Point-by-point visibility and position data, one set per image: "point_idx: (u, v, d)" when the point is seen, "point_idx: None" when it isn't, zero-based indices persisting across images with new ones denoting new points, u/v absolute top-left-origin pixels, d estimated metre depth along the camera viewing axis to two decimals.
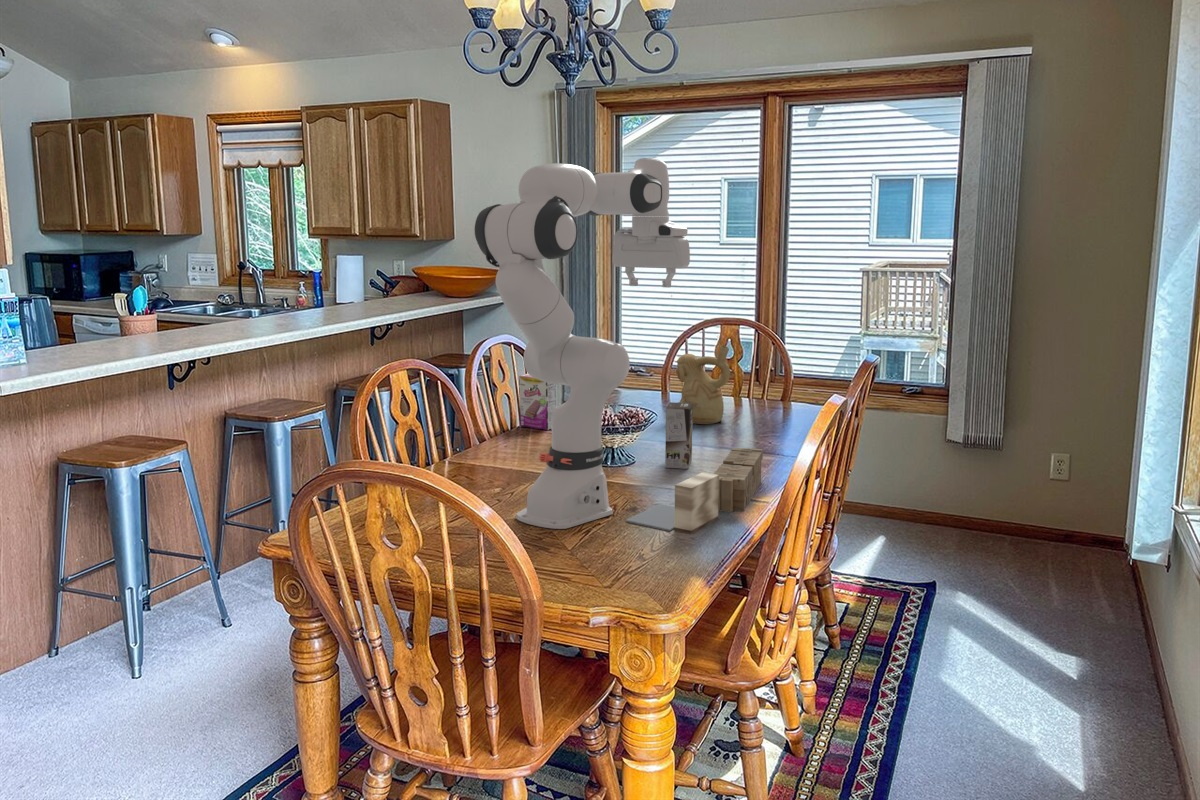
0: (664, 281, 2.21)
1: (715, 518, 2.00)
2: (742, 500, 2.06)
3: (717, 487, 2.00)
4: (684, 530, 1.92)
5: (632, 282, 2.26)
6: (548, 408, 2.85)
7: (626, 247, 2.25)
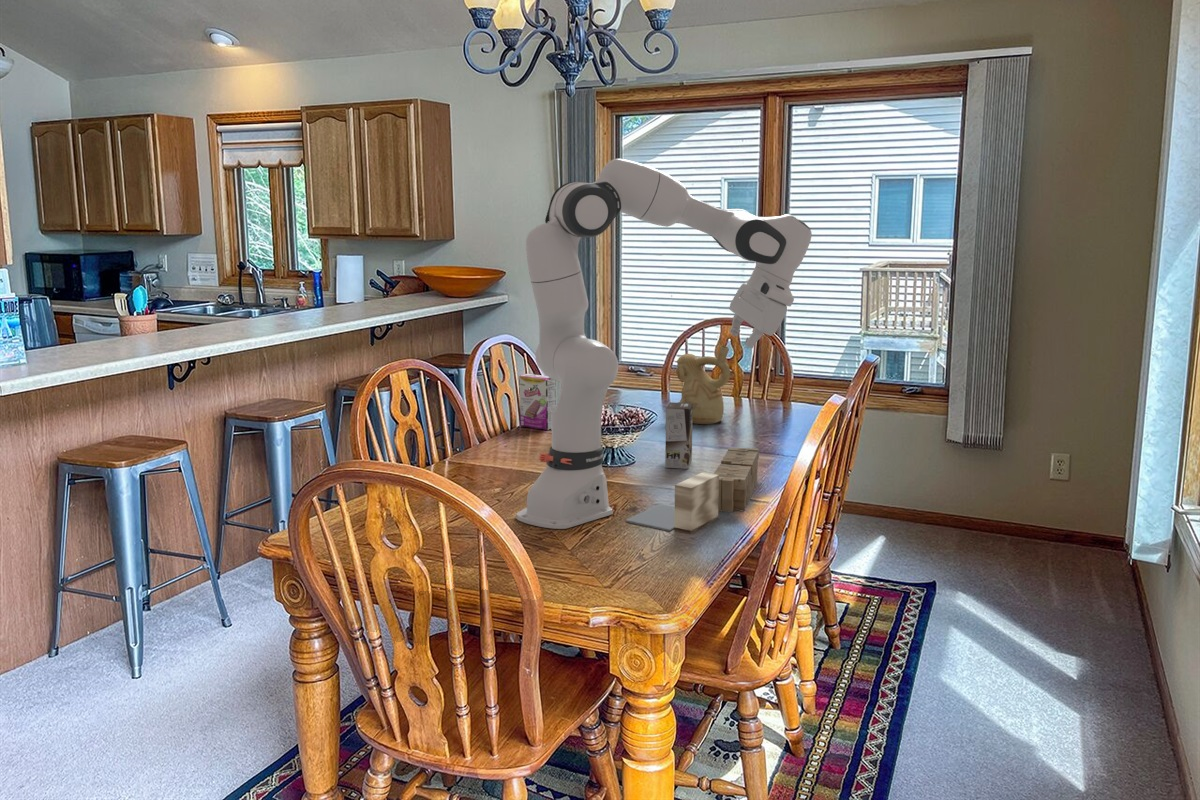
0: (747, 339, 2.08)
1: (715, 518, 2.00)
2: (743, 500, 2.06)
3: (717, 487, 2.00)
4: (684, 530, 1.92)
5: (731, 330, 2.17)
6: (548, 408, 2.85)
7: (743, 295, 2.16)
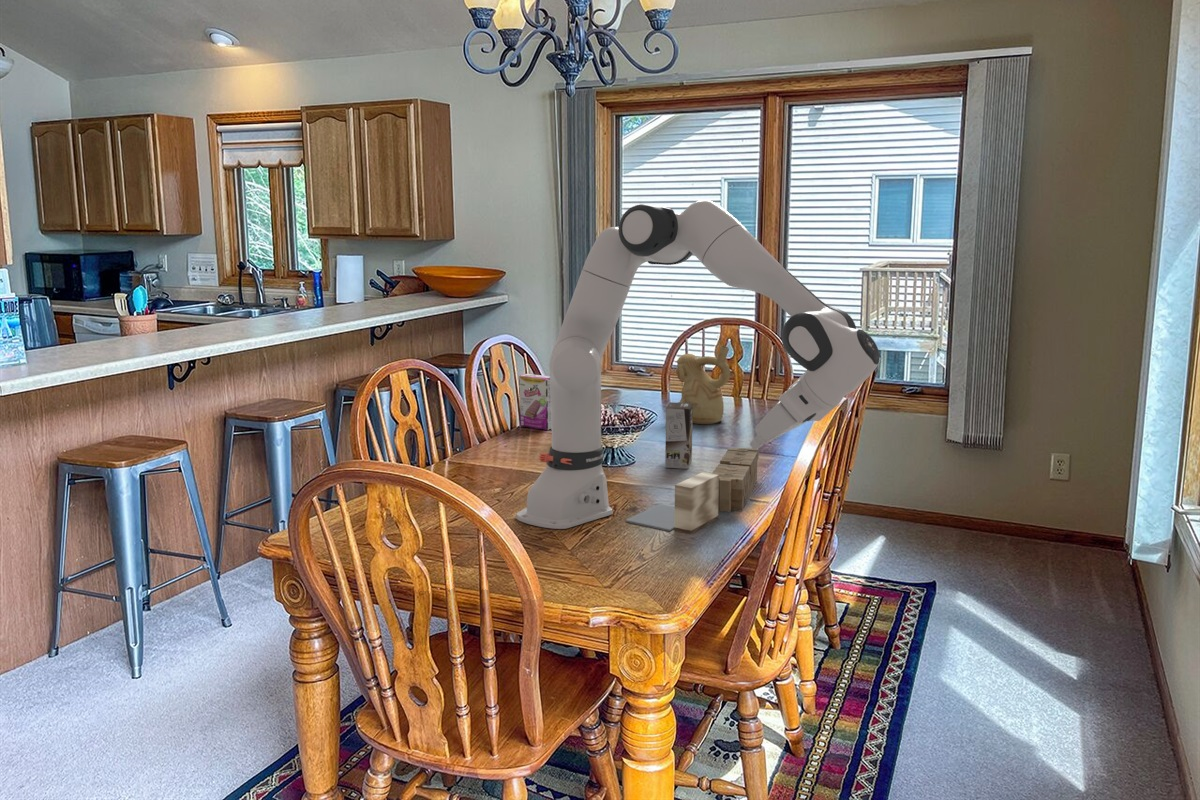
0: None
1: (715, 518, 2.00)
2: (740, 500, 2.06)
3: (717, 487, 2.00)
4: (684, 530, 1.92)
5: None
6: (548, 408, 2.85)
7: None
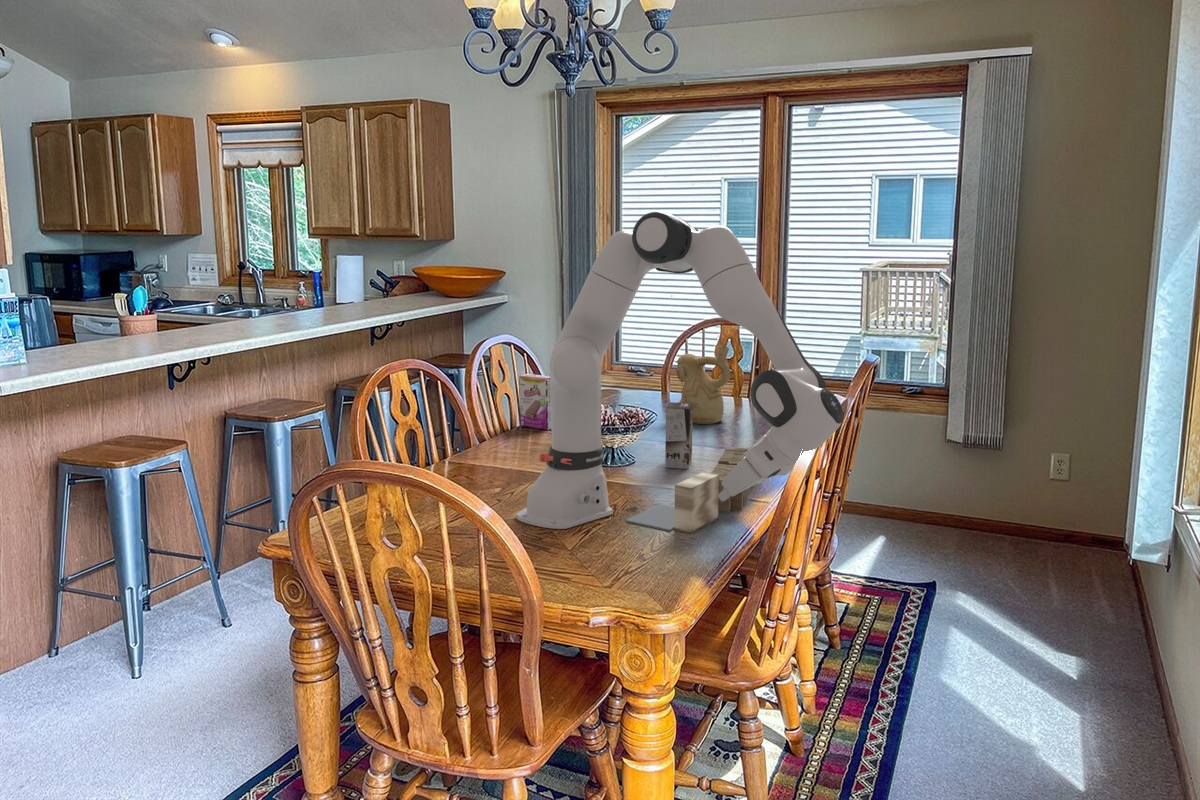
0: None
1: (715, 518, 2.00)
2: (740, 500, 2.06)
3: (717, 487, 2.00)
4: (684, 530, 1.92)
5: None
6: (548, 408, 2.85)
7: None
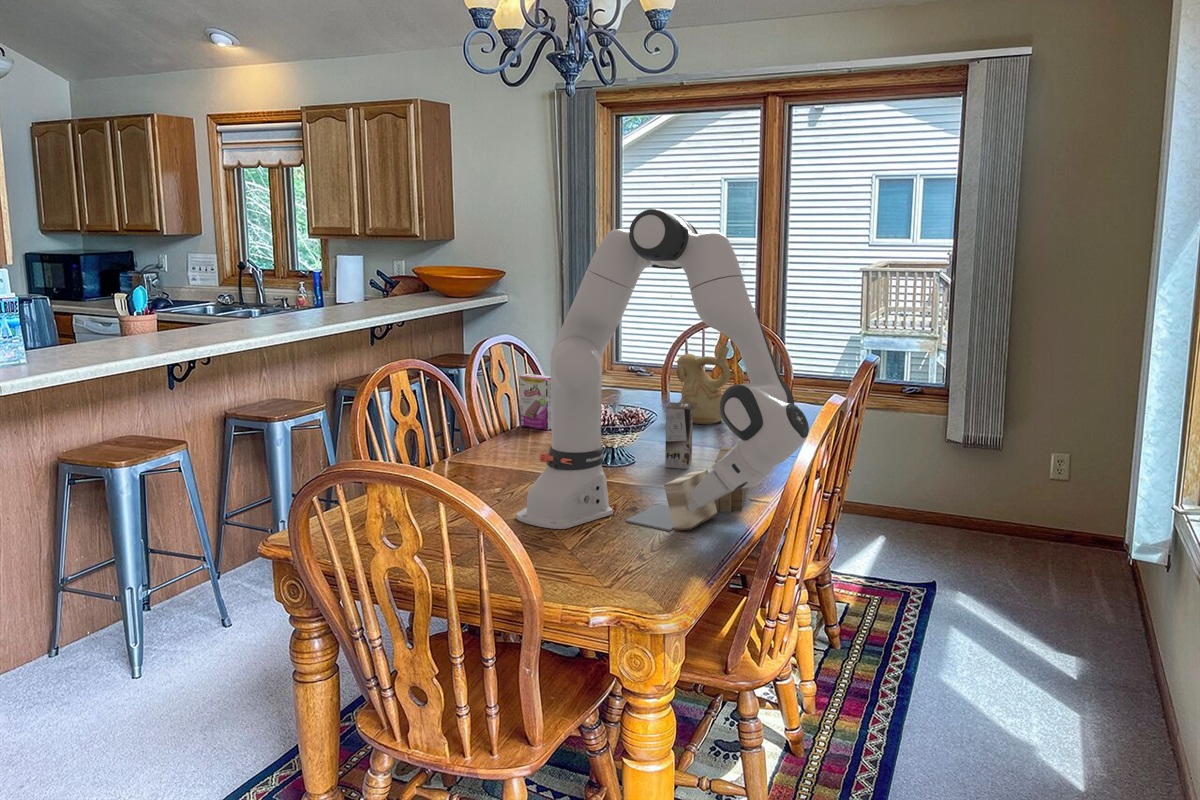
0: None
1: (714, 513, 2.00)
2: (740, 500, 2.06)
3: None
4: (683, 527, 1.92)
5: None
6: (548, 408, 2.85)
7: None
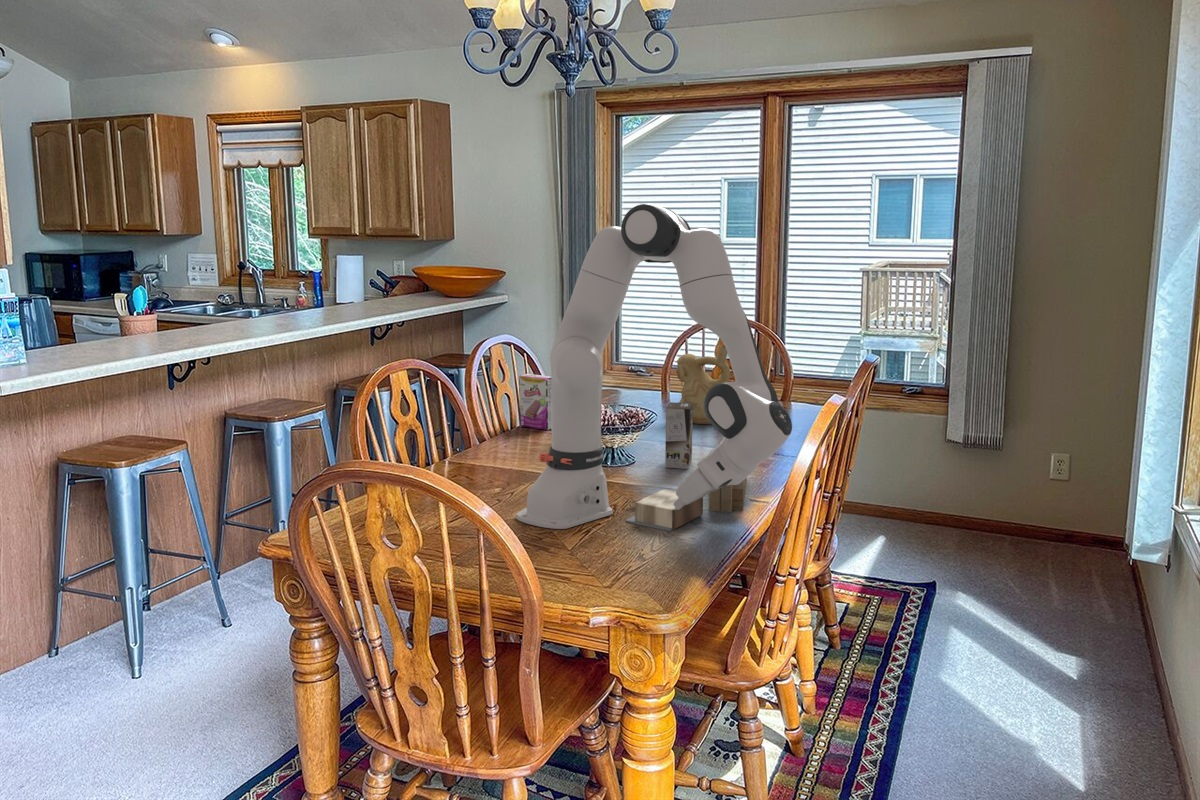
0: None
1: None
2: (741, 499, 2.07)
3: (673, 491, 2.06)
4: (673, 517, 1.93)
5: None
6: (548, 408, 2.85)
7: None
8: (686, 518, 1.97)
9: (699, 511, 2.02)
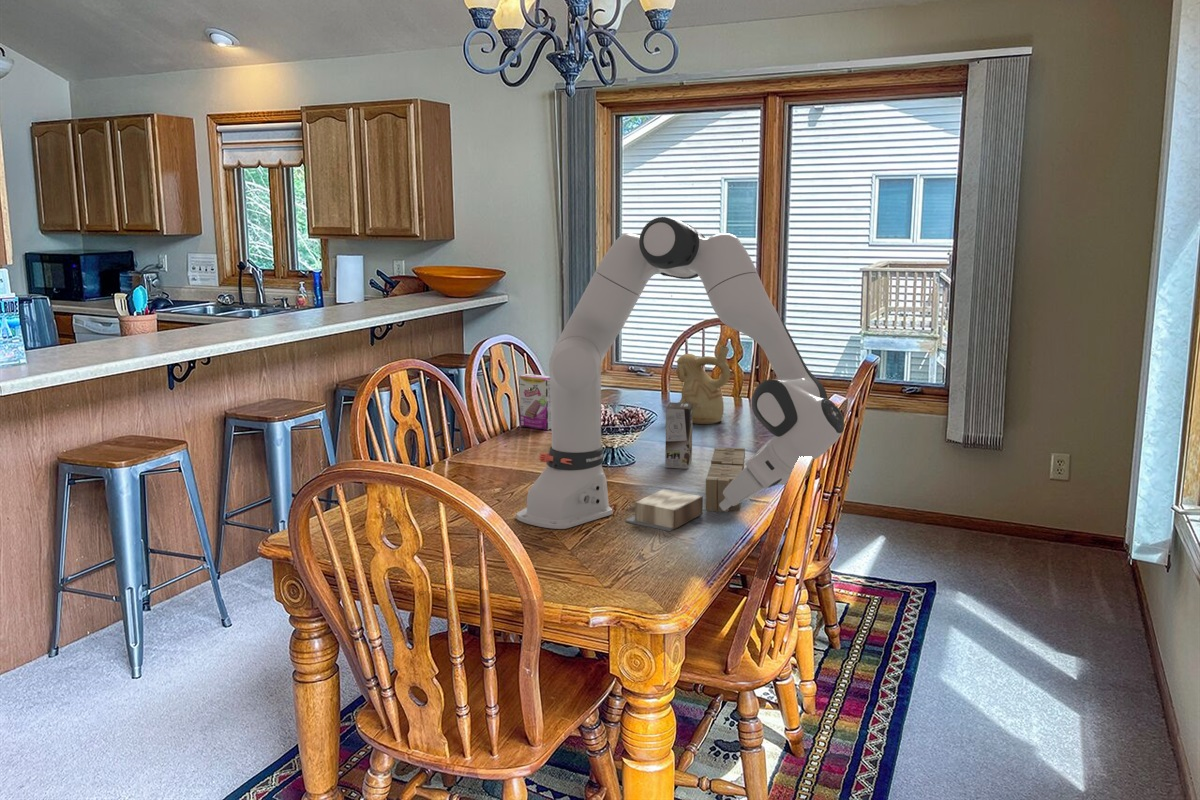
0: None
1: (698, 497, 2.02)
2: None
3: (673, 491, 2.06)
4: (672, 517, 1.94)
5: None
6: (547, 408, 2.85)
7: None
8: (685, 518, 1.97)
9: (699, 511, 2.02)
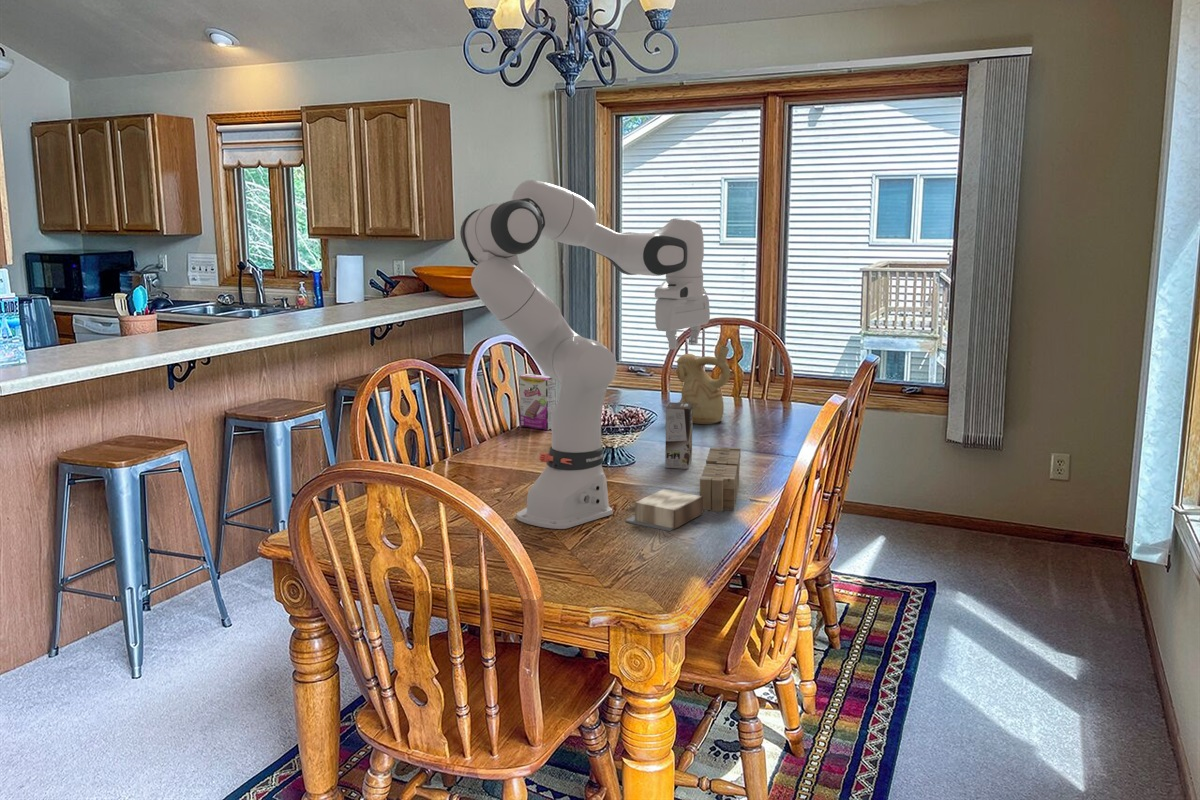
0: None
1: (698, 497, 2.02)
2: (732, 499, 2.07)
3: (673, 491, 2.06)
4: (672, 517, 1.94)
5: None
6: (548, 408, 2.85)
7: None
8: (685, 518, 1.97)
9: (699, 511, 2.02)
